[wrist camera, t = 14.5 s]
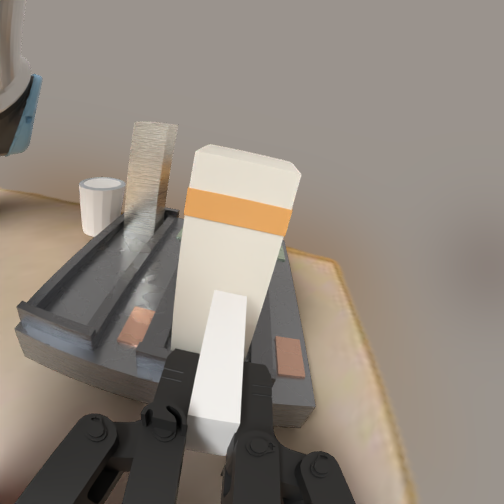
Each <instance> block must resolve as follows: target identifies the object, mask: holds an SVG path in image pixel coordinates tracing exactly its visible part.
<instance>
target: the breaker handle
mask: <svg viewBox="0 0 504 504" xmlns="http://www.w3.org/2000/svg"><path fill="white" fill-rule="evenodd" d="M300 178H301V173H300V172H299V171H298V170H297V169H296V167H295V166H294V165H293V164H292V162H288V161H284V160H280V159H277V158H272V157H268V156H264V155H260V154H255V153H251V152H246V151H242V150H237V149H232V148H226V147H222V146H217V145H212V144H209V145H207V146H205V147H203V148H201V149H199V150H197V151H196V152H195V158H194V163H193V169H192V175H191V180H190V186H189V187H188V191H187V197H186V203H185V209H184V215H185V217H184V224H183V231H182V239H181V246H180V254H179V263H178V271H177V280H176V290H175V300H174V311H173V323H172V337H171V350H174V349H175V348H176V349H181V350H185V351H189V352H194V353H199V354H200V353H201V348H202V343H203V339H204V334H205V330H206V325H207V321H208V316H209V312H210V307H211V303H212V298H213V294H214V290H218V291H223V292H228V293H232V294H237V295H242V296H247V305H246V323H245V341H244V359H243V361H244V362H245V359H246V356H247V353H248V350H249V347H250V344H251V341H252V338H253V334H254V331H255V328H256V325H257V322H258V319H259V316H260V312H261V309H262V306H263V303H264V300H265V296H266V293H267V290H268V287H269V284H270V280H271V277H272V274H273V270H274V267H275V264H276V260H277V257H278V254H279V250H280V247H281V244H282V240H283V237H284V236H285V234H286V231H287V228H288V224H289V221H290V217H291V214H292V206H293V203H294V199H295V196H296V192H297V188H298V185H299V181H300Z"/></svg>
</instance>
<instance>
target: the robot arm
mask: <svg viewBox="0 0 504 504" xmlns="http://www.w3.org/2000/svg"><path fill="white" fill-rule="evenodd" d="M25 6H26V0H0V156H9V155H11V154H18V153H22V152H24V151H25V150H26V149H27V148H28V146H29V144H30V139H31V134H32V129H33V123H34V117H35V113H36V107H37V103H38V98H39V94H40V89H41V85H42V77H41V76H39V75H36V74H33V75H31V66H30V64H29V62H28V60H27V59H26V58H24V57H23V56H21V42H22V29H23V20H24V11H25ZM246 305H247V296H242V295H237V294H232V293H228V292H223V291H218V290H214V294H213V298H212V303H211V307H210V312H209V316H208V321H207V325H206V330H205V334H204V339H203V343H202V348H201V353H200V354H199V353H194V352H189V351H185V350H181V349H176V348H175V349H174V350H173V351H172V352H171V353H170V354H169V355H168V356H167V359H166V362H165V365H164V369H163V371H162V374H161V378H160V381H159V384H158V387H157V390H156V394H155V397H154V400H153V402H152V403H150V404H148V405H147V406H145V407H144V409H143V411H142V412H141V420H139V421H136V422H112V421H111V420H110V419H109V418H107V417H106V416H103V415H101V414H89V415H85V416H84V417H82V418H81V419H80V420H79V421H78V422H77V423H76V425H75V426H74V427H73V428H72V430H71V431H70V432H69V433H68V435H67V436H66V437H65V438H64V440H63V441H62V442H61V443H60V445H59V446H58V447H57V449H56V450H55V451H54V452H53V454H52V455H51V456H50V458H49V459H48V460H47V461H46V463H45V464H44V465H43V467H42V468H41V469H40V470H39V472H38V473H37V474H36V476H35V477H34V478H33V480H32V481H31V482H30V484H29V485H28V486H27V488H26V489H25V490H24V492H23V493H22V494H21V496H20V497H19V498H18V500H17V501H16V502H15V504H104V503H105V501H106V499H107V498H108V496H109V495H110V493H111V491H112V490H113V488H114V487H115V485H116V483H117V482H118V480H119V479H120V477H121V475H122V474H123V472H124V471H127V472H130V474H129V478H128V482H127V486H126V490H125V494H124V498H123V502H122V504H176V500H177V494H178V487H179V481H180V475H181V469H182V462H183V455H184V450H185V449H187V450H192V451H197V452H203V453H208V454H215V455H221V456H226V453H227V457H226V464H225V466H224V468H223V470H222V473H221V476H223V481H222V494H221V504H356V503H355V501H354V499H353V497H352V494H351V492H350V490H349V487H348V485H347V483H346V480H345V478H344V476H343V474H342V471H341V469H340V467H339V464H338V462H337V461H336V460H335V458H334V457H333V456H331V455H330V454H328V453H325V452H322V451H317V452H312V453H309V454H307V455H306V454H302V453H299V452H296V451H293V450H290V449H288V448H286V447H284V446H283V445H282V444H280V443H279V441H278V440H277V439H276V437H275V435H274V431H273V410H272V389H271V387H272V383H271V374H270V372H269V370H268V368H267V367H266V365H263V364H256V363H250V362H244V361H243V359H244V341H245V323H246Z"/></svg>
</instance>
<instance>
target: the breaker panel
mask: <svg viewBox="0 0 504 504" xmlns="http://www.w3.org/2000/svg"><path fill="white" fill-rule="evenodd" d="M177 129H178V125H173V124H165V123H158V122H149V121H144V122H135V124H134V130H133V136H132V144H131V151H130V158H129V167H128V176H127V186H126V198H125V212H124V213H123V214H122V215H120V216H119V217H118V218H117V219H116V220H114V221H113V222H112V223H111V224H109V225H108V226H107V227H106V228H105V229H104V230H102V231H101V232H100V233H99V234H98V235H97V236H95V237H94V238H93V239H92V240H91V241H90V242H89V243H87V244H86V245H85V246H84V247H83V248H82V249H81V250H80V251H79V252H77V253H76V254H75V255H74V256H73V257H72V258H71V259H70V260H69V261H68V262H67V263H66V264H65V265H63V266H62V267H61V268H60V269H59V270H58V271H57V272H56V273H55V274H54V275H53V276H52V277H51V278H50V279H49V280H48V281H47V282H46V283H45V284H44V285H43V286H42V287H41V288H40V289H39V290H38V291H37V292H36V293H35V294H34V295H33V296H32V298H31V299H30V300H29V301H28V302H27V303H26V302H24V301H21V303H20V304H19V305H18V306H17V310H18V313H19V317H20V320H21V322H20V323H19V324H18V325H17V327H16V328H15V332H16V335H17V337H18V340H19V343H20V345H21V348H22V350H23V353H24V355H25V356H26V357H28V358H30V359H32V360H34V361H36V362H38V363H40V364H42V365H44V366H46V367H48V368H50V369H53V370H55V371H57V372H59V373H62V374H64V375H66V376H69V377H71V378H74V379H76V380H79V381H81V382H84V383H86V384H89V385H92V386H94V387H97V388H100V389H103V390H106V391H108V392H111V393H114V394H117V395H121V396H124V397H127V398H130V399H133V400H137V401H140V402H144V403H147V404H150V403H152V402H153V400H154V397H155V394H156V390H157V387H158V384H159V381H160V378H161V374H162V371H163V369H164V365H165V362H166V359H167V356H168V355H169V354H170V353H171V352H172V351H173V350H171V337H172V323H173V311H174V300H175V290H176V280H177V271H178V263H179V254H180V246H181V239H182V231H183V224H184V219H181V218H178V217H179V210H176V209H171V208H166V207H165V204H166V197H167V190H168V183H169V176H170V170H171V163H172V157H173V151H174V146H175V140H176V134H177ZM245 362H250V363H256V364H263V365H266V367H267V368H268V370H269V372H270V374H271V383H272V387H271V389H272V410H273V426H281V427H298V428H300V427H301V426H302V424H303V423H304V422H305V420H306V419H307V418H308V416H309V415H310V414H311V412H312V411H313V410H314V408H315V407H316V406H315V400H314V394H313V388H312V382H311V376H310V370H309V364H308V359H307V353H306V348H305V342H304V337H303V331H302V326H301V321H300V315H299V310H298V305H297V300H296V295H295V290H294V285H293V280H292V275H291V270H290V265H289V261H288V256H287V251H286V246H285V242H284V240H282V244H281V247H280V250H279V254H278V257H277V260H276V264H275V267H274V270H273V274H272V277H271V280H270V284H269V287H268V290H267V293H266V296H265V300H264V303H263V306H262V309H261V312H260V316H259V319H258V322H257V325H256V328H255V331H254V334H253V338H252V341H251V344H250V347H249V350H248V353H247V356H246V359H245Z"/></svg>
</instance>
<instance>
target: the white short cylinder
mask: <svg viewBox="0 0 504 504" xmlns="http://www.w3.org/2000/svg"><path fill="white" fill-rule="evenodd" d="M125 185H126V184H125V182H124V181H122V180H119V179H115V178H108V177H98V178H89V179H85V180H83V181H81V182H80V183H79V193H80V207H81V218H82V228H83V231H84V233H85V234H87V235H89V236H92V237H95V236H97V235H98V234H99V233H100V232H101V231H102V230H104V229H105V228H106V227H107V226H108V225H109V224H111V223H112V222H113V221H114V220H116V219H117V218H118V217H119V216H120V215H121V209H122V202H123V196H124V190H125Z"/></svg>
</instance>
